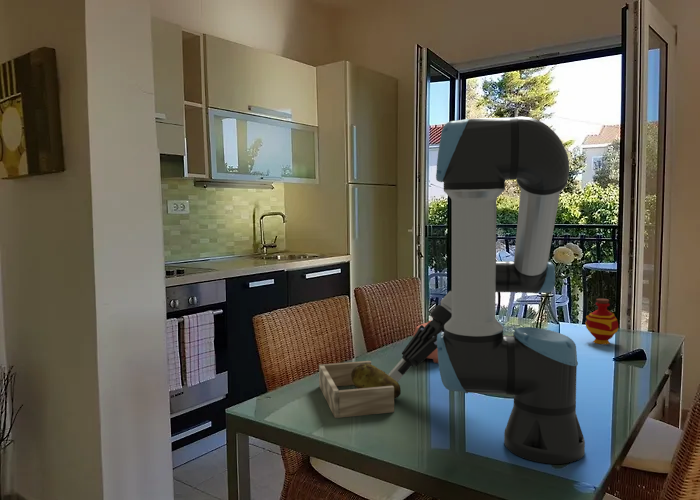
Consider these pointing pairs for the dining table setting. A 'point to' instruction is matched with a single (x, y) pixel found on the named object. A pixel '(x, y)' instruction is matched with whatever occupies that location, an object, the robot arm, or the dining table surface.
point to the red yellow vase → (602, 323)
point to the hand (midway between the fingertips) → (390, 381)
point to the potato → (373, 378)
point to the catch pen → (352, 392)
